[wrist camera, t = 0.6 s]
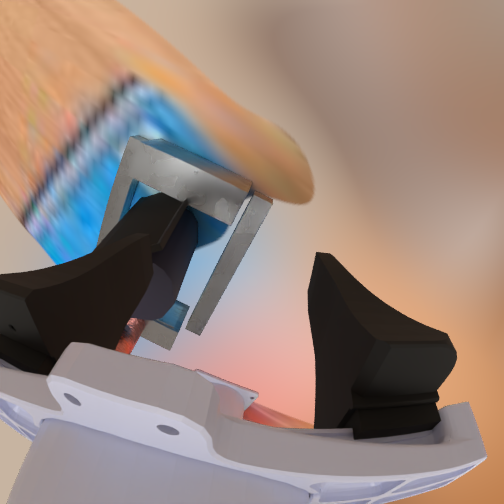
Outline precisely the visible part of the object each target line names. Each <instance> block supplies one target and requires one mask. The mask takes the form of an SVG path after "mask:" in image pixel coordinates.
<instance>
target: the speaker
mask: <svg viewBox="0 0 504 504" xmlns="http://www.w3.org/2000/svg"><path fill="white" fill-rule="evenodd" d="M187 206H188V201H187V198H186V199H185V200H184V201H183V202H181V201H179V200H177V199H175V198H173V197H171V196H169V195H167V194H165V193H163V192H160V193H157V194H154V195H151V196H148V197H141V198H140V199H139V200H138V201H137V203H136V204H135V205H134V206H133V207H132V208H131V209H130V210H129V211H128V212H127V213H126V214H125V215H124V216H123V218H122V219H121V220H120V221H119V222H118V223H117V224H116V225H115V226H114V227H113V229H112V230H111V231H110V232H109V233H108V234H107V235H106V237H105V238H104V239H103V240H102V241H101V242H100V244H99V245H98V246H97V247H96V248H95V249H94V251H97V250H99V249H101V248H103V247H105V246H108V245H110V244H112V243H114V242H116V241H118V240H120V239H123V238H125V237H127V236H130V235H132V234H136V233H143V234H150V243H151V253H152V263H153V271H154V274H153V277H152V279H151V282H150V284H149V286H148V289H147V291H146V293H145V294H144V296H143V298H142V299H141V301H140V303H139V305H138V306H137V308H136V310H135V311H134V313H133V315H132V316H131V318H135V319H143V320H151V321H153V320H156V319H160V318H163V316H164V315H165V314H166V313H167V312H168V311H169V309H170V308H171V307H172V306H173V305H174V304H175V301H176V299H177V296H178V293H179V290H180V287H181V285H182V282H183V279H184V277H185V274H186V271H187V269H188V266H189V263H190V261H191V258H192V255H193V253H194V251H195V248H196V245H197V243H198V222H197V220H196V218H195V216H194V214H193V213H192V212H191V211H189V210H188V209H186V207H187ZM94 251H93V252H94Z"/></svg>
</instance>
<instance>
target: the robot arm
mask: <svg viewBox="0 0 504 504" xmlns="http://www.w3.org/2000/svg"><path fill="white" fill-rule="evenodd" d="M153 274H154V271H153V263H152V253H151V243H150V234H143V233H136V234H132V235H130V236H127V237H125V238H123V239H120V240H118V241H116V242H114V243H112V244H110V245H108V246H105V247H103V248H101V249H99V250H97V251H94V252H92V253H90V254H87V255H85V256H83V257H80V258H77V259H75V260H72V261H69V262H66V263H63V264H59V265H55V266H52V267H48V268H44V269H39V270H34V271H28V272H21V273H10V274H1V275H0V419H1V420H2V421H4V422H5V423H6V424H8V425H9V426H10V427H11V428H13V429H14V430H16V431H17V432H18V433H20V434H21V435H23V436H24V437H25V438H27V439H28V440H30V441H32V444H31V447H30V449H29V451H28V453H27V455H26V457H25V459H24V462H23V464H22V466H21V469H20V471H19V473H18V475H17V478H16V480H15V483H14V485H13V488H12V490H11V493H10V495H9V498H8V501H7V503H6V504H383V503H388V502H392V501H396V500H400V499H403V498H407V497H411V496H414V495H418V494H421V493H424V492H428V491H431V490H434V489H437V488H440V487H443V486H446V485H447V484H449V483H451V482H452V481H454V480H456V479H457V478H459V477H460V476H462V475H464V474H465V473H466V472H468V471H470V470H471V469H473V468H474V467H476V466H477V465H478V464H480V463H481V462H483V461H484V460H485V459H486V458H487V454H486V450H485V447H484V444H483V441H482V438H481V435H480V432H479V429H478V426H477V423H476V420H475V418H474V415H473V412H472V409H471V407H470V404H469V402H463V403H459V404H453V405H448V406H445V407H443V408H441V409H439V410H438V409H437V406H436V403H435V402H438V401H439V395H438V392H437V389H438V388H439V387H440V386H441V384H442V383H443V382H444V381H445V379H446V378H447V377H448V375H449V374H450V373H451V371H452V369H453V367H454V366H455V363H456V360H457V352H456V350H455V348H454V346H453V344H452V342H451V340H450V338H449V336H448V334H447V333H444V332H441V331H439V330H436V329H434V328H431V327H429V326H426V325H424V324H422V323H419V322H417V321H415V320H413V319H411V318H409V317H407V316H406V315H404V314H402V313H400V312H399V311H397V310H395V309H394V308H392V307H390V306H389V305H387V304H386V303H384V302H383V301H382V300H380V299H379V298H378V297H376V296H375V295H374V294H372V293H371V292H370V291H369V290H367V289H366V288H365V287H364V286H363V285H362V284H361V283H360V282H359V281H357V280H356V279H355V278H354V277H353V276H352V275H351V274H350V273H349V272H348V271H347V270H346V269H345V268H344V267H343V265H342V264H341V263H340V262H339V261H338V260H337V259H336V258H335V257H334V256H333V255H331V254H330V253H321V252H316V256H315V261H314V266H313V270H312V275H311V279H310V284H309V288H308V314H309V320H310V327H311V333H312V339H313V346H314V353H315V369H316V394H315V395H316V398H315V420H314V429H299V428H278V427H271V426H267V425H263V424H259V423H255V422H251V421H247V420H244V419H243V414H244V411H245V410H246V409H247V408H248V407H249V406H250V405H251V404H252V403H253V402H254V401H255V400H256V398H257V397H258V392H256V391H253V390H250V389H248V388H245V387H242V386H239V385H237V384H234V383H231V382H229V381H226V380H224V379H221V378H219V377H216V376H214V375H211V374H209V373H206V372H204V371H202V370H199V369H197V370H195V371H192V370H190V369H187V368H184V367H181V366H178V365H175V364H170V363H165V362H160V361H156V360H151V359H147V358H142V357H138V356H134V355H130V354H126V353H122V352H118V351H115V350H116V347H117V345H118V342H119V340H120V337H121V335H122V333H123V331H124V329H125V327H126V325H127V323H128V321H129V320H130V318H131V316H132V315H133V313H134V311H135V310H136V308H137V306H138V305H139V303H140V301H141V299H142V298H143V296H144V294H145V293H146V291H147V289H148V286H149V284H150V282H151V279H152V277H153Z"/></svg>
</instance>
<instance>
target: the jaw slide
mask: <svg viewBox="0 0 504 504" xmlns="http://www.w3.org/2000/svg"><path fill="white" fill-rule="evenodd" d="M188 309H189V306H188V305H185V304H183V303H181V302H179V301H177V300H176V301H175V304H174V305H173V306H172V307H171V308H170V309H169V311H168V312H167V313H166V314H165V315H164V316H163V318H160V319H156V320H153V321H151V320H143V319H135V318H130V320H129V321H128V323H127V325H126V327H125V329H124V331H123V333H122V335H121V337H120V340H119V342H118V345H117V347H116V350H115V351H118V352H122V353H126V354H130V353H131V352H132V350H133V348H134V346H135V344H136V343H137V341H138V339H139V337H140V336H141V337H143V338H145V339H147V340H149V341H151V342H153V343H155V344H157V345H159V346H161V347H163V348H165V349H168V350H170V349H171V347H172V345H173V343H174V341H175V339H176V336H177V334H178V332H179V330H180V328H181V325H182V323H183V321H184V318H185V316H186V314H187V311H188Z"/></svg>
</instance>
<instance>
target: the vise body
mask: <svg viewBox="0 0 504 504" xmlns="http://www.w3.org/2000/svg"><path fill="white" fill-rule="evenodd" d="M138 181H140V182H142V183H144V184H146V185H148V186H150V187H152V188H154V189H157V190H159V191H161V192H163V193H165V194H167V195H169V196H171V197H173V198H175V199H177V200H179V201H181V202H183V201H184V200H185V199H186V198H187V201H188V205H189V206H191V207H193V208H195V209H197V210H199V211H201V212H203V213H205V214H207V215H209V216H212V217H214V218H216V219H218V220H220V221H222V222H224V223H226V224H228V225H230V226H231V225H232V223H233V221H234V219H235V217H236V215H237V213H238V211H239V209H240V207H241V206H242V204H243V202H244V200H245V198H246V196H247V194H248V192H249V189H250V187H251V184H252V181H250V180H248V179H246V178H244V177H242V176H240V175H238V174H236V173H234V172H232V171H230V170H227V169H225V168H223V167H221V166H219V165H217V164H215V163H213V162H211V161H209V160H207V159H205V158H203V157H200V156H198V155H196V154H194V153H192V152H190V151H187V150H185V149H183V148H181V147H179V146H176V145H174V144H172V143H170V142H167V141H165V140H163V139H155V140H148V139H145V138H143V137H141V136H130V138H129V141H128V143H127V146H126V149H125V151H124V154H123V157H122V160H121V163H120V165H119V168H118V171H117V174H116V177H115V181H114V184H113V187H112V190H111V193H110V197H109V200H108V204H107V207H106V211H105V215H104V218H103V222H102V226H101V230H100V234H99V238H98V242H97V246H98V245H99V244H100V242H101V241H102V240H103V239H104V238H105V237H106V235H107V234H108V233H109V232H110V231H111V230H112V229H113V227H114V226H115V225H116V224H117V223H118V222H119V221H120V220H121V219H122V218H123V216H124V215H125V214H126V213H127V212H128V210H129V207H130V204H131V201H132V198H133V195H134V192H135V189H136V187H137V184H138ZM272 205H273V199H271V198H269V197H267V196H265V195H263V194H261V193H259V192H257V191H255V192H254V194H253V196H252V198H251V200H250V201H249V204H248V205H247V207H246V209H245V211H244V213H243V215H242V217H241V219H240V221H239V222H238V224H237V226H236V228H235V230H234V232H233V234H232V236H231V238H230V240H229V242H228V243H227V245H226V247H225V249H224V251H223V253H222V255H221V257H220V259H219V261H218V263H217V265H216V267H215V269H214V271H213V273H212V275H211V277H210V279H209V281H208V283H207V285H206V287H205V289H204V291H203V293H202V295H201V297H200V299H199V301H198V303H197V305H196V307H195V309H194V311H193V313H192V315H191V317H190V319H189V321H188V324H187V326H186V329H187V330H189V331H191V332H193V333H195V334H198V335H200V334H201V333H202V331H203V329H204V327H205V325H206V324H207V322H208V320H209V318H210V316H211V314H212V313H213V311H214V309H215V307H216V305H217V304H218V302H219V300H220V298H221V296H222V295H223V293H224V291H225V289H226V287H227V286H228V284H229V282H230V280H231V278H232V276H233V275H234V273H235V271H236V269H237V267H238V265H239V264H240V262H241V260H242V258H243V257H244V255H245V253H246V251H247V249H248V247H249V246H250V244H251V242H252V240H253V239H254V237H255V235H256V233H257V231H258V230H259V228H260V226H261V224H262V222H263V221H264V219H265V217H266V215H267V213H268V212H269V210H270V208H271V206H272Z"/></svg>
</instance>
